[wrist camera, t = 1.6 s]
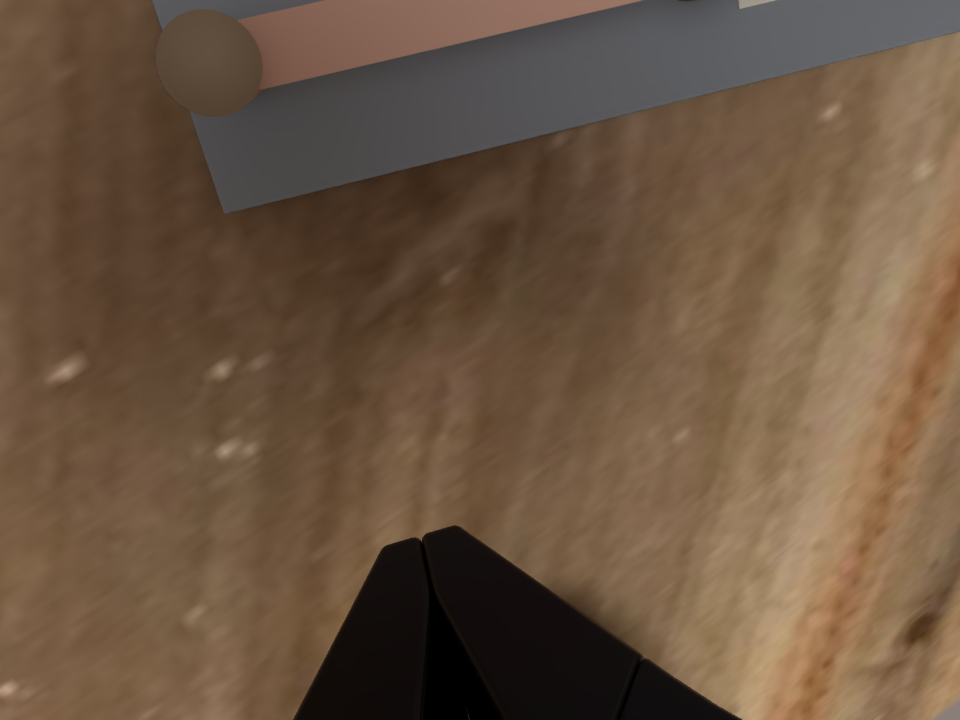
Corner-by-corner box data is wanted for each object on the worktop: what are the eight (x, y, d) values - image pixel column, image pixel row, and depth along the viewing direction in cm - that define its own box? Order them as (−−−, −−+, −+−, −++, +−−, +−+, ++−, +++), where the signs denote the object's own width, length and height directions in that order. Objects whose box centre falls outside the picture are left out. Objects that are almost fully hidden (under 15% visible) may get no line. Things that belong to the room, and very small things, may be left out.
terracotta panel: (640, -73, 18) (738, -112, 14) (649, 6, 18) (746, -8, 14) (180, 30, 17) (139, 21, 13) (207, 110, 17) (176, 127, 13)
